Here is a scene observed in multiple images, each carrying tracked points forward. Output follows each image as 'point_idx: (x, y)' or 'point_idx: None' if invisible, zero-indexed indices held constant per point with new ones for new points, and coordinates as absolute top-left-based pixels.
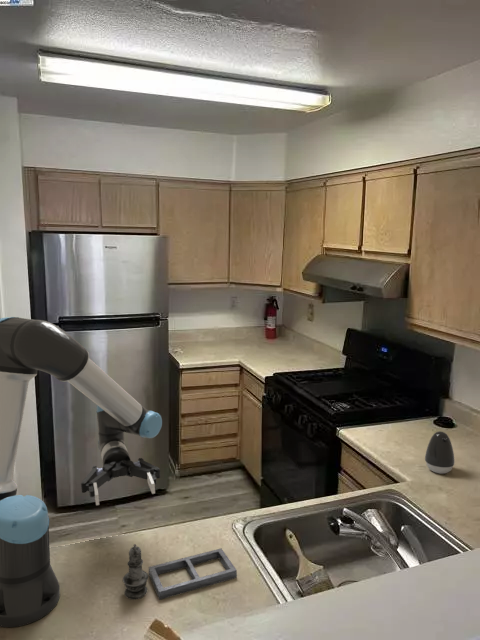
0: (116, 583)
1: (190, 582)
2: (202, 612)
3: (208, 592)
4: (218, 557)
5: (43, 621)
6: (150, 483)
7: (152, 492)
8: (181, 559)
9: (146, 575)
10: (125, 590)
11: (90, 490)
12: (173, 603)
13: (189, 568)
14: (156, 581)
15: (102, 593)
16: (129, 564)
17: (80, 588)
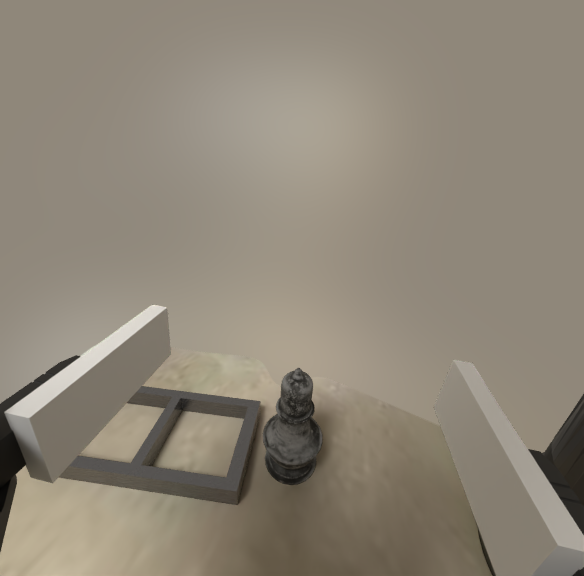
0: (326, 517)
1: (196, 394)
2: (219, 363)
3: (178, 388)
4: None
5: None
6: (145, 340)
7: (168, 347)
8: (146, 472)
9: (269, 426)
10: (311, 471)
11: (552, 472)
12: (243, 395)
13: (159, 436)
14: (249, 428)
15: (364, 496)
16: (311, 403)
17: (427, 556)
